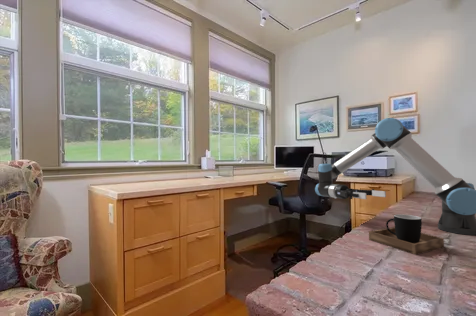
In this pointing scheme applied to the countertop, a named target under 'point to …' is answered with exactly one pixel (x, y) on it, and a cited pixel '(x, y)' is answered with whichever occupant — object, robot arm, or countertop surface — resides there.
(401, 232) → the mug
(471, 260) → the countertop surface
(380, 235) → the walnut tray
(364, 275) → the countertop surface
